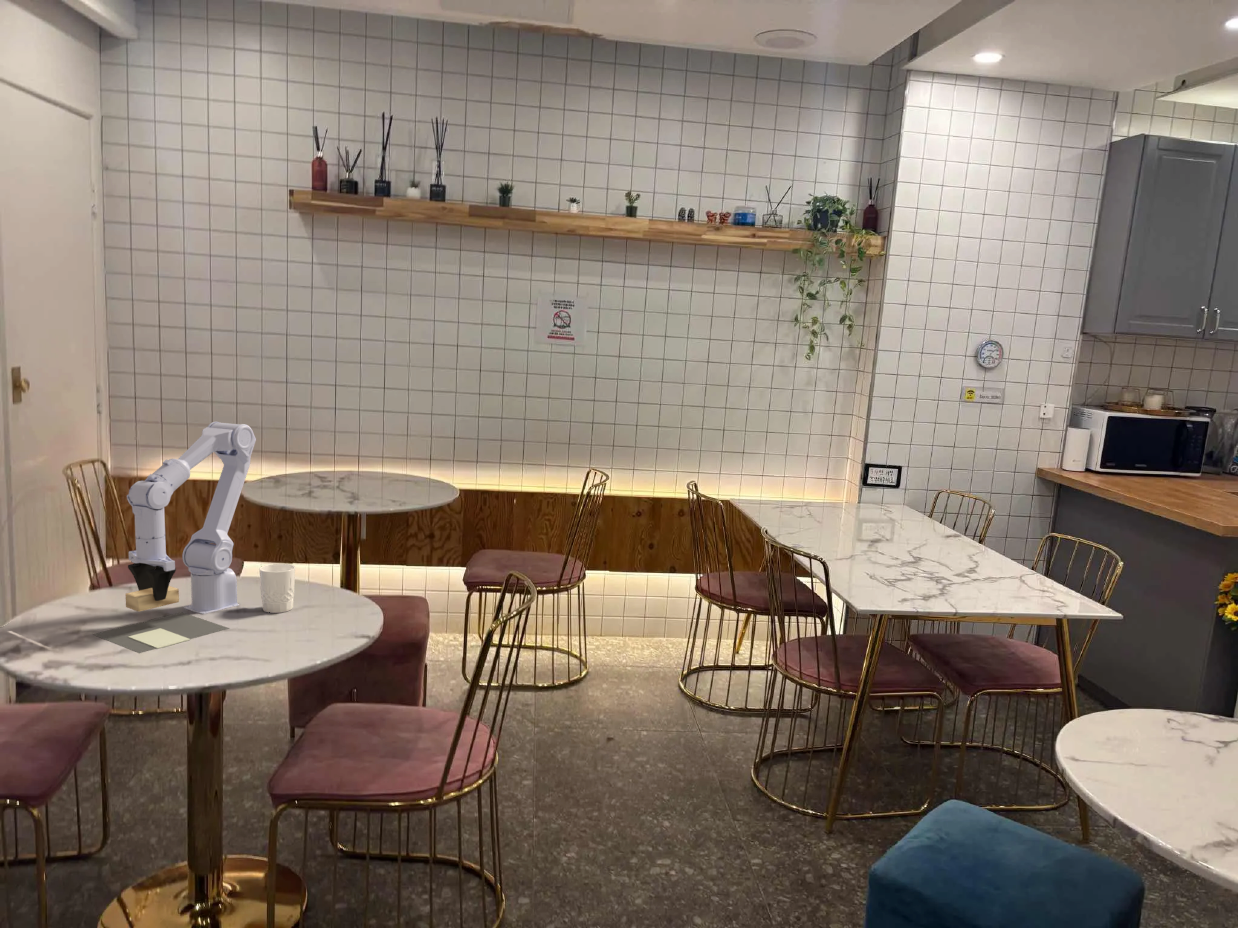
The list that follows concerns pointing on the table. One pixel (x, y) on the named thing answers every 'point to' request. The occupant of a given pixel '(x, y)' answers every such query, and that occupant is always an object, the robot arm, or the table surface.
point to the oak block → (150, 599)
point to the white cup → (277, 587)
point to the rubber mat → (160, 632)
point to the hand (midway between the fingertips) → (152, 597)
